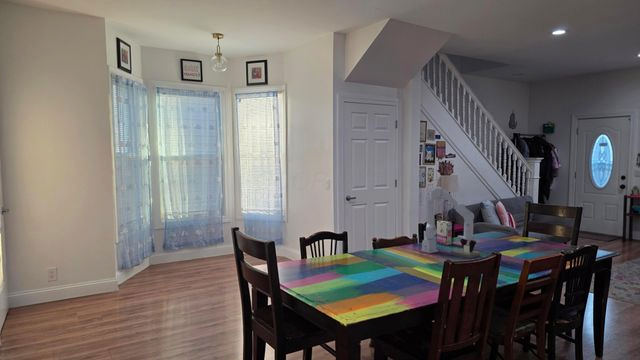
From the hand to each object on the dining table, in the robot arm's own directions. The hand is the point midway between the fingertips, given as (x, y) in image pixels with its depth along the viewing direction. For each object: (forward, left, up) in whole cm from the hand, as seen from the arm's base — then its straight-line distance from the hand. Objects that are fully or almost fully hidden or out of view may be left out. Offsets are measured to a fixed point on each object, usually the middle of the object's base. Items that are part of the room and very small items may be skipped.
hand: (468, 251), depth 269 cm
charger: (0, 0, -2) cm, 2 cm away
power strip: (0, +2, -3) cm, 3 cm away
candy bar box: (+16, +30, -3) cm, 34 cm away
